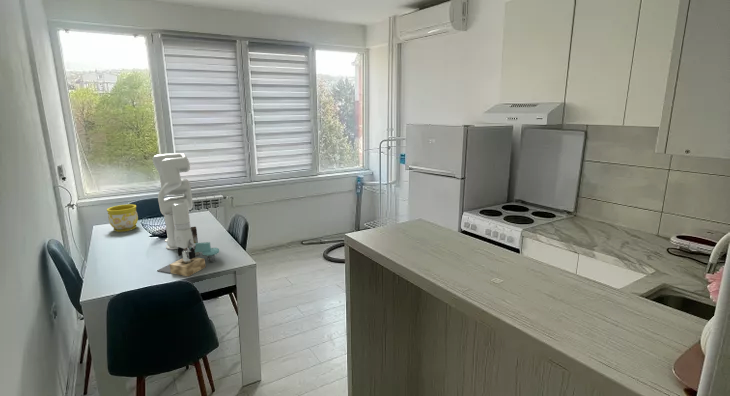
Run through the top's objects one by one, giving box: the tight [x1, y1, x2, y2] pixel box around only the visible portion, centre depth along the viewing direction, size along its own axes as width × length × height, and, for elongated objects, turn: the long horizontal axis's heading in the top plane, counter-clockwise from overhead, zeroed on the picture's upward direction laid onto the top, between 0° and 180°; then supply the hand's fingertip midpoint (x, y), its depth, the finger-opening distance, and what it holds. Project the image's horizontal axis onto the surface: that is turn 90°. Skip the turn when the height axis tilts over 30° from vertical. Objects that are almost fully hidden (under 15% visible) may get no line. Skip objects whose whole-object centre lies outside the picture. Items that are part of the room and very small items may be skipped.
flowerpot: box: [106, 203, 139, 233], centre depth 268 cm, size 18×18×16 cm
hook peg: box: [181, 250, 191, 264], centre depth 198 cm, size 4×4×11 cm
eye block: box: [170, 256, 206, 277], centre depth 199 cm, size 12×12×5 cm
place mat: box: [157, 263, 172, 274], centre depth 201 cm, size 9×9×1 cm
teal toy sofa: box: [190, 241, 220, 263], centre depth 209 cm, size 16×9×11 cm, turn 100°
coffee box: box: [184, 226, 200, 256], centre depth 219 cm, size 9×6×16 cm
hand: (186, 256), depth 197 cm, fingers open, 9 cm apart
